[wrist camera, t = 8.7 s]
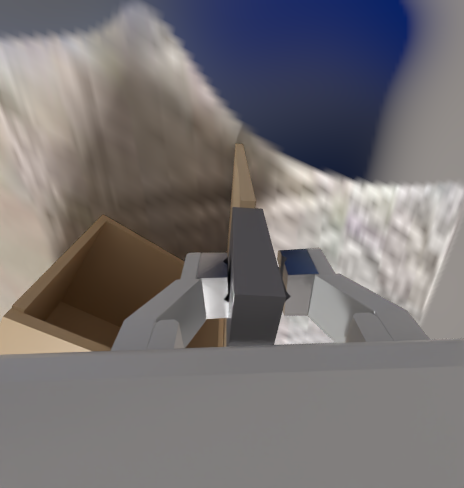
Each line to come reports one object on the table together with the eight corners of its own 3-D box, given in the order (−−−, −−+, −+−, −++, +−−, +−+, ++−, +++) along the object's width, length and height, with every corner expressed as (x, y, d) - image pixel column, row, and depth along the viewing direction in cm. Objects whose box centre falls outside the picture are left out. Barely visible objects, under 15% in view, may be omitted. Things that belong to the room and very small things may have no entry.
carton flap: (231, 143, 20) (235, 284, 6) (246, 144, 20) (288, 287, 6) (221, 281, 27) (212, 493, 13) (233, 281, 27) (236, 493, 13)
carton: (56, 298, 29) (-39, 414, 19) (103, 214, 23) (4, 313, 13) (165, 345, 33) (136, 460, 23) (225, 284, 28) (222, 399, 18)
